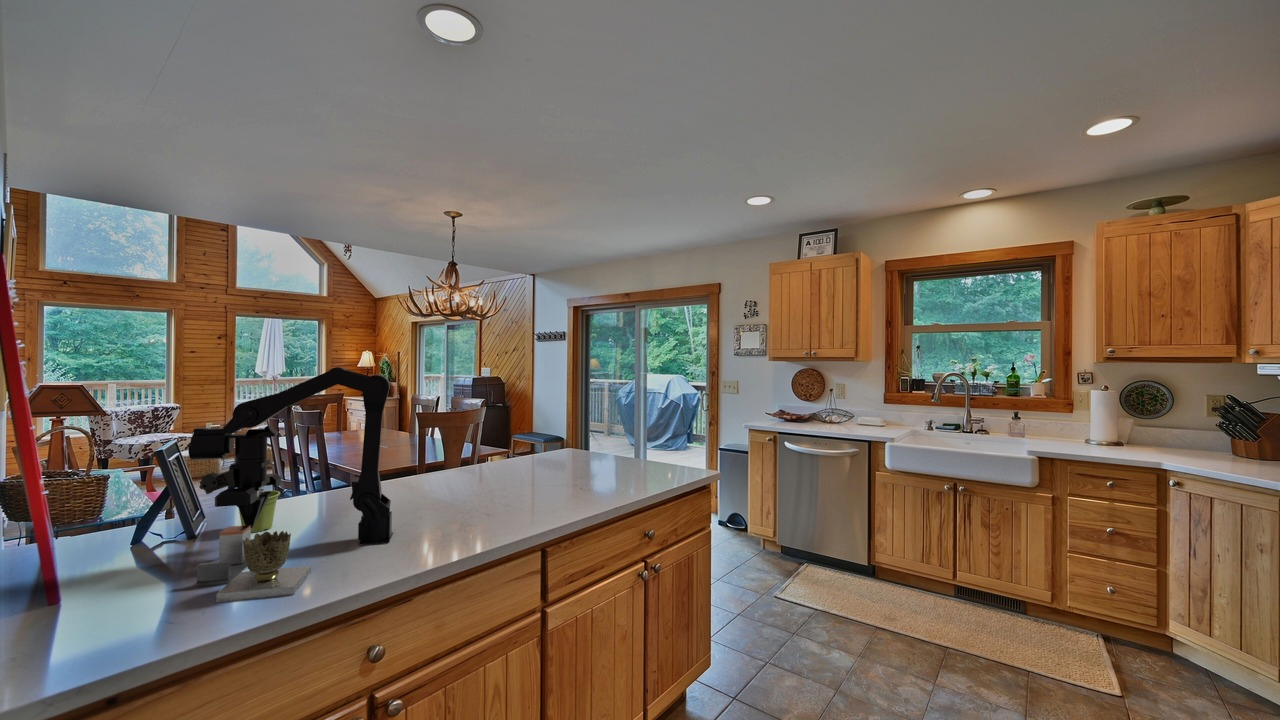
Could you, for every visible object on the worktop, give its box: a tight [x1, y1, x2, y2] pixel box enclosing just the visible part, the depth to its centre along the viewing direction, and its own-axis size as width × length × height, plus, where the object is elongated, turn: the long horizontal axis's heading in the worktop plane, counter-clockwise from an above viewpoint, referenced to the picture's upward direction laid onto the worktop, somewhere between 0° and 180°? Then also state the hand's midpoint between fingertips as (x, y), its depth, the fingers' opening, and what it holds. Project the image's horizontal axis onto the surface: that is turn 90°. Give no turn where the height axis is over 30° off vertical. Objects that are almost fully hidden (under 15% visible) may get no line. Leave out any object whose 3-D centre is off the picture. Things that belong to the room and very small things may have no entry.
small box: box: [218, 525, 252, 564], centre depth 109 cm, size 4×4×7 cm
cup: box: [243, 530, 292, 581], centre depth 100 cm, size 8×7×8 cm
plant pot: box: [238, 490, 281, 534], centre depth 132 cm, size 9×9×9 cm
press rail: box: [196, 561, 248, 587], centre depth 106 cm, size 5×12×4 cm, turn 17°
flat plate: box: [216, 565, 312, 603], centre depth 99 cm, size 12×10×2 cm
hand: (249, 527), depth 116 cm, fingers closed
